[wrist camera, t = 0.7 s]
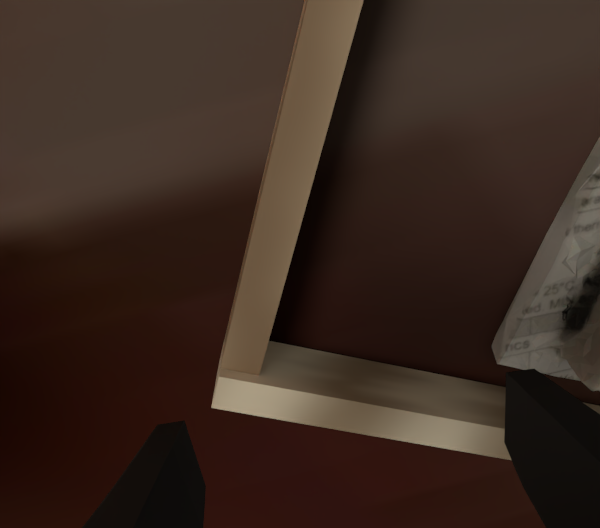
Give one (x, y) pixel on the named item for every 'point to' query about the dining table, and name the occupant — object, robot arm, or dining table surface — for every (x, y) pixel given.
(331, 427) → the beige wooden frame
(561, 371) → the packaged product
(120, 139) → the dining table surface
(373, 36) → the dining table surface
